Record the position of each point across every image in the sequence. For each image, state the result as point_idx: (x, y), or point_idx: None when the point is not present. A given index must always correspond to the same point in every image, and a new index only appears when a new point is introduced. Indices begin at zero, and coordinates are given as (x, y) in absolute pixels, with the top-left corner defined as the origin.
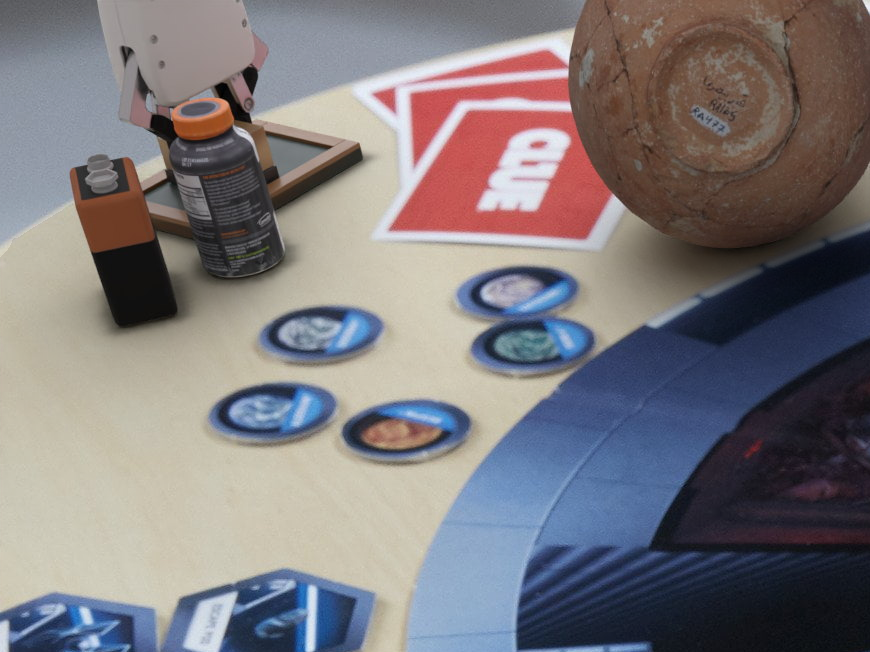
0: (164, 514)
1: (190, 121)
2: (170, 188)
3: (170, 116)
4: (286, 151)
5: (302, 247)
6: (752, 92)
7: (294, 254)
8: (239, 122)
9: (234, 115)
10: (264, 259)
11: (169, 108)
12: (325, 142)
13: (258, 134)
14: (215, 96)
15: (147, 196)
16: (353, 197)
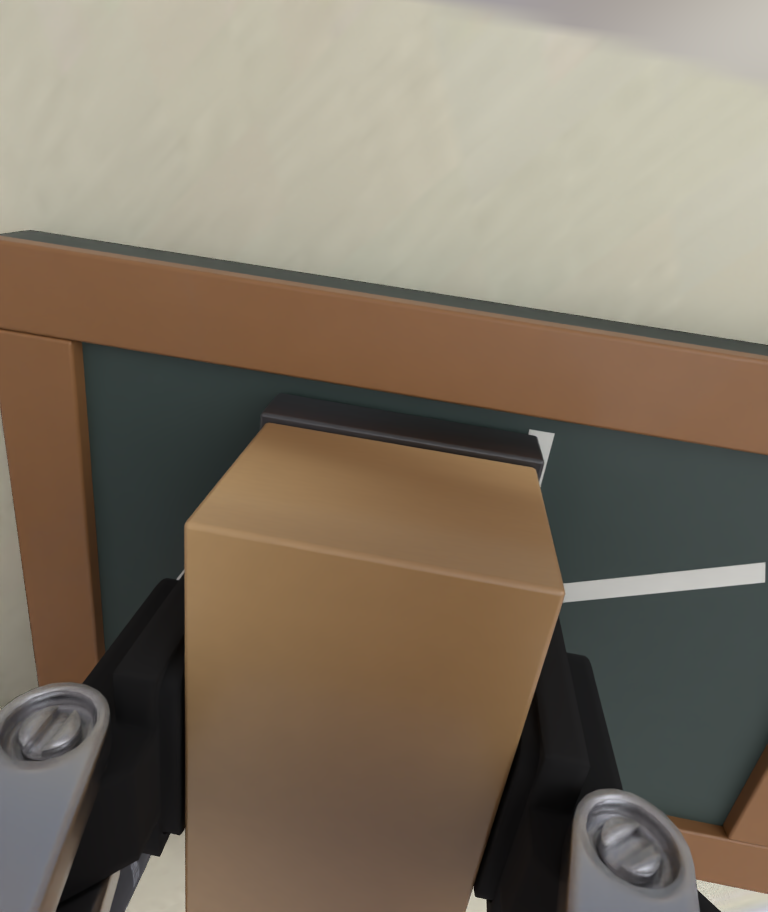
0: None
1: None
2: (242, 429)
3: (76, 843)
4: (690, 689)
5: (180, 881)
6: None
7: (143, 879)
8: (448, 898)
9: (503, 874)
10: None
11: (55, 905)
12: (762, 805)
13: None
14: (565, 880)
15: (140, 377)
16: (473, 890)
